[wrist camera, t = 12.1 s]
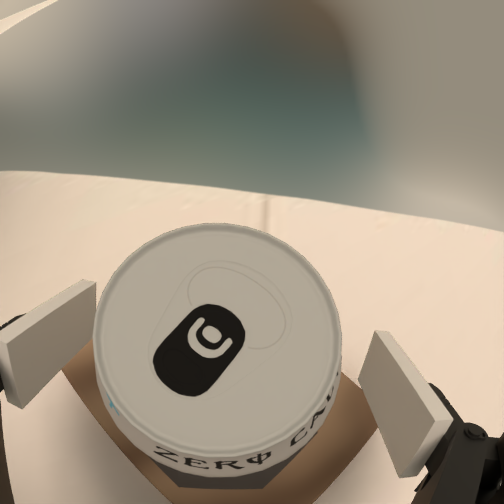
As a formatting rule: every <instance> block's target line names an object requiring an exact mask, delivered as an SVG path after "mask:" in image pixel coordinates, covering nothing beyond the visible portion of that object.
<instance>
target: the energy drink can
mask: <svg viewBox="0 0 504 504" xmlns="http://www.w3.org/2000/svg"><path fill="white" fill-rule="evenodd" d="M92 338H93V351H94V361H95V370H96V379H97V384H98V387H99V390H100V393H101V396H102V399H103V402H104V405H105V407H106V409H107V410H108V412H109V414H110V415H111V417H112V419H113V421H114V422H115V424H116V425H117V427H118V428H119V429H120V430H121V432H122V433H123V434H124V435H125V436H126V437H127V438H128V439H129V440H130V441H131V442H132V443H133V445H134V446H136V447H137V448H138V449H140V450H141V451H143V452H144V453H145V454H147V455H148V456H150V457H151V458H152V459H154V460H155V461H157V462H159V463H161V464H164V465H166V466H168V467H171V468H173V469H175V470H178V471H180V472H184V473H188V474H193V475H199V476H204V477H238V476H242V475H246V474H251V473H255V472H259V471H263V470H265V469H267V468H269V467H271V466H273V465H276V464H278V463H280V462H282V461H284V460H286V459H287V458H289V457H290V456H291V455H293V454H294V453H295V452H296V451H298V450H299V449H300V448H302V447H303V446H304V445H305V444H307V443H308V441H309V440H310V439H311V438H312V437H313V435H314V434H315V433H316V432H317V431H318V429H319V428H320V427H321V426H322V425H323V423H324V421H325V419H326V417H327V415H328V413H329V412H330V410H331V408H332V406H333V404H334V401H335V398H336V394H337V390H338V387H339V383H340V378H341V359H342V356H341V346H342V332H341V326H340V320H339V314H338V311H337V308H336V305H335V303H334V300H333V297H332V295H331V292H330V290H329V289H328V287H327V286H326V284H325V282H324V281H323V279H322V278H321V276H320V274H319V273H318V272H317V271H316V269H315V268H314V267H313V266H312V265H311V264H310V263H309V262H308V261H307V260H306V258H305V257H304V256H302V255H301V254H300V253H298V252H297V251H296V250H295V249H293V248H292V247H291V246H289V245H288V244H287V243H285V242H283V241H281V240H279V239H277V238H275V237H273V236H272V235H270V234H268V233H265V232H262V231H259V230H256V229H253V228H250V227H246V226H240V225H234V224H228V223H203V224H197V225H191V226H185V227H181V228H178V229H175V230H172V231H169V232H166V233H164V234H162V235H160V236H158V237H156V238H154V239H152V240H151V241H149V242H147V243H145V244H144V245H142V246H141V247H140V248H139V249H137V250H136V251H135V252H133V253H132V254H131V255H130V256H128V257H127V259H126V260H125V261H124V262H123V263H122V264H121V265H120V267H119V268H118V269H117V270H116V271H115V272H114V274H113V275H112V277H111V279H110V280H109V282H108V284H107V285H106V287H105V289H104V291H103V292H102V295H101V298H100V301H99V304H98V307H97V310H96V313H95V319H94V327H93V335H92Z"/></svg>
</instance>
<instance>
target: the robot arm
mask: <svg viewBox="0 0 504 504" xmlns="http://www.w3.org/2000/svg"><path fill="white" fill-rule="evenodd" d="M95 313H96V282H92V281H88V280H84V279H82V280H81V281H79V282H77V283H76V284H74V285H72V286H71V287H69V288H67V289H66V290H64V291H62V292H61V293H59V294H57V295H56V296H54V297H52V298H51V299H49V300H48V301H46V302H44V303H43V304H41V305H39V306H38V307H36V308H35V309H33V310H31V311H30V312H28V313H26V314H23V315H19V316H16V317H14V318H13V319H11V320H10V321H8V323H5V324H3V325H2V327H1V326H0V392H1V391H2V390H3V389H4V391H5V395H6V398H7V401H8V402H9V403H11V404H13V405H15V406H17V407H19V408H21V409H23V408H24V407H25V406H26V405H27V404H28V403H29V402H30V401H31V400H32V399H33V398H34V397H35V396H36V395H37V394H38V393H39V391H40V390H41V389H42V388H43V387H44V386H45V385H46V384H47V383H48V382H49V381H50V380H51V379H52V378H53V377H54V376H55V375H56V374H57V373H58V372H59V371H60V370H61V369H62V368H63V367H64V366H65V365H66V364H67V363H68V362H69V361H70V360H71V359H72V358H73V357H74V356H75V355H76V354H77V353H78V352H79V351H80V350H81V349H82V348H83V347H84V346H85V345H86V344H87V343H88V342H89V341H90V340H91V339H92V335H93V327H94V319H95ZM358 381H359V383H360V385H361V388H362V390H363V392H364V395H365V397H366V399H367V401H368V404H369V406H370V408H371V411H372V413H373V416H374V418H375V420H376V423H377V425H378V427H379V430H380V432H381V435H382V437H383V439H384V442H385V444H386V447H387V449H388V452H389V454H390V457H391V459H392V462H393V464H394V467H395V469H396V472H397V474H398V477H399V478H405V477H413V476H417V475H418V474H419V472H420V471H421V470H422V468H423V467H424V465H425V466H426V468H427V470H428V473H427V475H426V476H425V477H424V479H423V480H422V481H421V483H420V484H419V485H418V487H417V488H416V489H415V490H414V491H415V492H417V493H416V495H415V497H414V499H413V501H412V503H411V504H504V432H503V434H502V436H501V437H500V438H493V437H488V435H487V433H486V431H485V430H484V429H483V428H481V427H480V426H478V425H476V424H473V423H464V422H463V420H462V419H461V418H460V416H459V415H458V413H457V412H456V411H455V409H454V408H453V407H452V405H450V403H449V401H448V400H447V399H445V398H446V397H445V396H444V395H443V393H442V392H441V391H440V389H438V388H437V387H436V386H434V385H433V384H432V383H427V381H426V380H425V379H424V377H423V376H422V374H421V373H420V372H419V370H418V369H417V368H416V366H415V365H414V364H413V362H412V361H411V360H410V358H409V357H408V356H407V354H406V353H405V352H404V351H403V349H402V348H401V347H400V345H399V344H398V343H397V341H396V340H395V339H394V338H393V336H392V335H391V334H390V332H386V331H376V330H375V331H374V334H373V338H372V341H371V344H370V347H369V350H368V353H367V355H366V358H365V361H364V364H363V367H362V369H361V372H360V375H359V378H358ZM501 482H502V483H501ZM500 483H501V486H500ZM0 504H15V503H14V499H13V494H12V489H11V485H10V479H9V474H8V468H7V462H6V455H5V448H4V439H3V429H2V417H1V401H0Z"/></svg>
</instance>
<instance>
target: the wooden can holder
mask: <svg viewBox="0 0 504 504" xmlns="http://www.w3.org/2000/svg"><path fill="white" fill-rule="evenodd" d="M61 370H62V371H63V373H64V374H65V376H66V377H67V379H68V381H69V382H70V384H71V385H72V387H73V388H74V389H75V391H76V392H77V394H78V395H79V397H80V398H81V400H82V401H83V402H84V404H85V405H86V406H87V408H88V409H89V411H90V412H91V413H92V415H93V416H94V417H95V419H96V420H97V421H98V422H99V424H100V425H101V426H102V428H103V429H104V430H105V431H106V433H107V434H108V435H109V436H110V438H111V439H112V440H113V441H114V442H115V444H116V445H117V446H118V447H119V448H120V449H121V451H122V452H123V453H124V454H125V455H126V456H127V458H128V459H129V460H130V461H131V462H132V463H133V464H134V465H135V466H136V467H137V469H138V470H139V471H140V472H141V473H142V474H143V475H144V476H145V477H146V478H147V479H148V480H149V481H150V482H151V483H152V484H153V485H154V486H155V487H156V488H157V489H158V490H159V491H160V492H161V493H162V494H163V495H164V496H165V497H166V498H167V499H168V500H169V501H170V502H171V503H172V504H312V503H313V502H314V501H315V500H316V499H317V498H318V497H319V496H320V495H321V494H322V493H323V492H324V491H325V490H326V489H327V488H328V487H329V486H330V485H331V484H332V482H333V481H334V480H335V479H336V478H337V477H338V476H339V475H340V474H341V472H342V471H343V470H344V469H345V468H346V467H347V465H348V464H349V463H350V462H351V461H352V460H353V458H354V457H355V456H356V455H357V454H358V452H359V451H360V450H361V449H362V447H363V446H364V445H365V444H366V442H367V441H368V440H369V438H370V437H371V436H372V435H373V433H374V432H375V431H376V429H377V428H378V425H377V423H376V420H375V418H374V416H373V413H372V411H371V408H370V406H369V404H368V401H367V399H366V397H365V395H364V392H363V390H362V389H361V388H359V387H358V386H357V385H356V384H355V383H354V382H352V381H351V380H350V379H349V378H348V377H347V376H346V375H344V374H343V373H342V372H341V378H340V383H339V387H338V390H337V394H336V398H335V401H334V404H333V406H332V408H331V410H330V412H329V413H328V415H327V417H326V419H325V421H324V423H323V425H322V426H321V427H320V428H319V429H318V431H317V432H316V433H315V434H314V435H313V437H312V438H311V439H310V440H309V441H308V443H307V444H305V445H304V446H303V447H302V448H300V449H299V450H298V451H296V452H295V453H294V454H293V455H291V456H290V457H289V458H287V459H286V460H284V461H282V462H280V463H278V464H276V465H273V466H271V467H269V468H267V469H265V470H263V471H259V472H255V473H251V474H246V475H242V476H238V477H204V476H199V475H193V474H188V473H184V472H180V471H178V470H175V469H173V468H171V467H168V466H166V465H164V464H161V463H159V462H157V461H155V460H154V459H152V458H151V457H150V456H148V455H147V454H145V453H144V452H143V451H141V450H140V449H138V448H137V447H136V446H134V445H133V443H132V442H131V441H130V440H129V439H128V438H127V437H126V436H125V435H124V434H123V433H122V432H121V430H120V429H119V428H118V427H117V425H116V424H115V422H114V421H113V419H112V417H111V415H110V414H109V412H108V410H107V409H106V407H105V405H104V402H103V399H102V396H101V393H100V390H99V387H98V384H97V379H96V370H95V361H94V351H93V338H92V339H91V340H90V341H89V342H88V343H87V344H86V345H85V346H84V347H83V348H82V349H81V350H80V351H79V352H78V353H77V354H76V355H75V356H74V357H73V358H72V359H71V360H70V361H69V362H68V363H67V364H66V365H65V366H64V367H63V368H62V369H61Z"/></svg>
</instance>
